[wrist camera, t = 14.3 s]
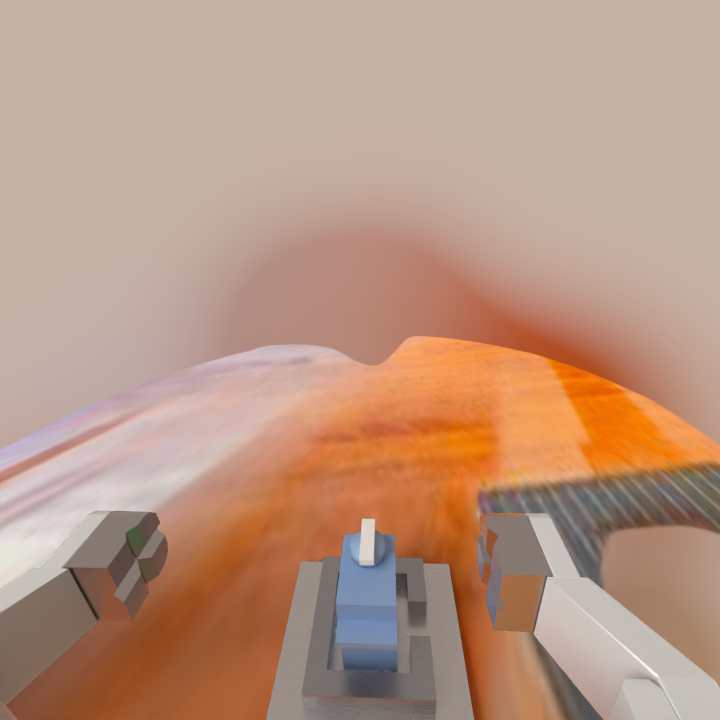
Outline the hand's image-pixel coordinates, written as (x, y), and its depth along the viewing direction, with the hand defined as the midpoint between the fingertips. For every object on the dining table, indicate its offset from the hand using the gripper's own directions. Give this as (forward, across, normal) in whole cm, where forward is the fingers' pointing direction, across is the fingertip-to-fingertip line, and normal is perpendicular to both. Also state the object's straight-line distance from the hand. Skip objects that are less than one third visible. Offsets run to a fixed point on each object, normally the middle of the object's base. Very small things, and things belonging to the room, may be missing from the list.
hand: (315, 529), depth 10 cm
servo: (+12, 0, -25) cm, 28 cm away
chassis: (+12, 0, -26) cm, 28 cm away
